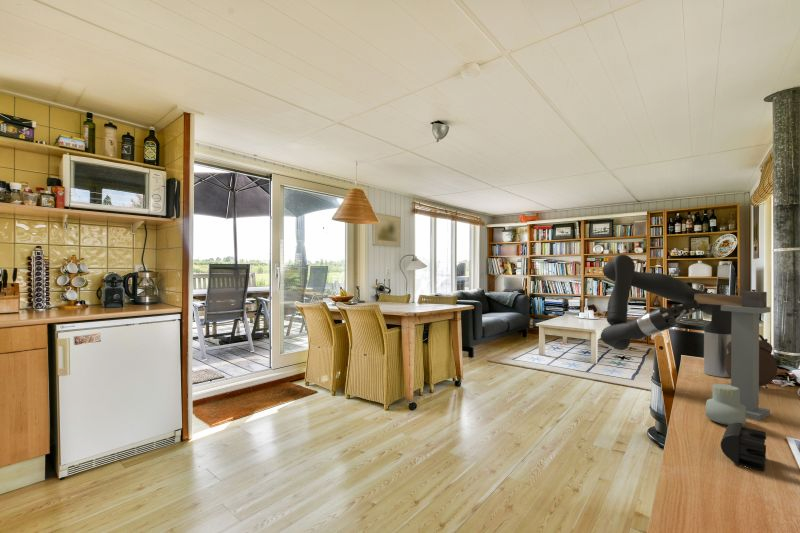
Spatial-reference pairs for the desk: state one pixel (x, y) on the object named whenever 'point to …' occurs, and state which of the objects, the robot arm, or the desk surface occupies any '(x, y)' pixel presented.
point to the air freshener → (726, 405)
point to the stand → (746, 357)
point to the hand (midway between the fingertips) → (702, 301)
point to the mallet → (735, 299)
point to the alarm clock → (765, 362)
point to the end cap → (745, 446)
